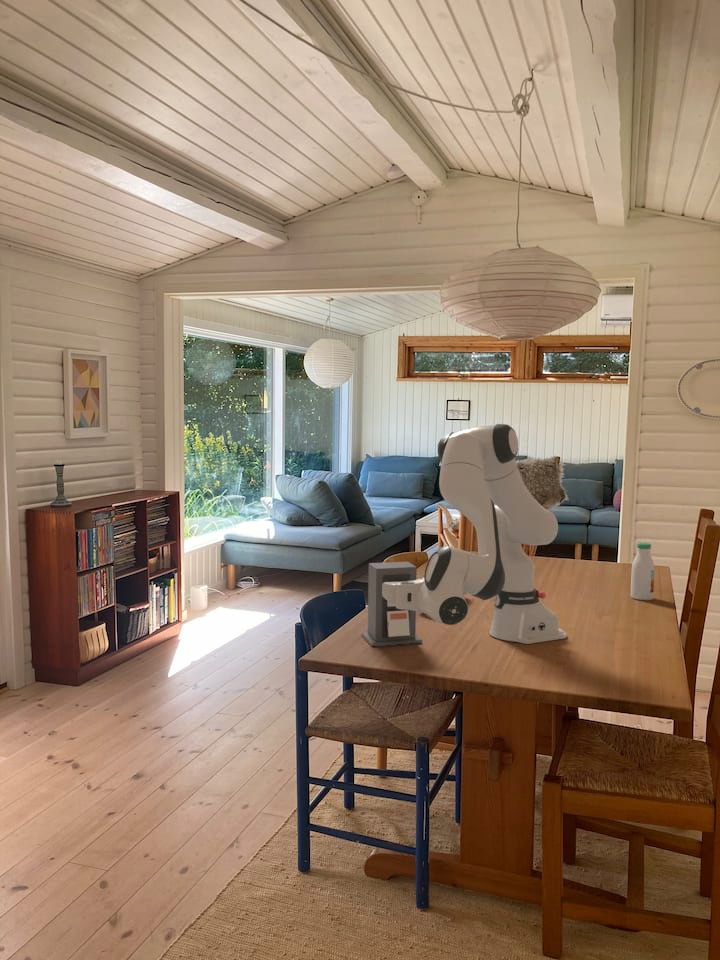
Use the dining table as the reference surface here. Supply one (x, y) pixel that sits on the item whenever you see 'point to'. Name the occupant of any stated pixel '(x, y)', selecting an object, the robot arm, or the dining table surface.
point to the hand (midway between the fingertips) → (412, 583)
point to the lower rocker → (398, 623)
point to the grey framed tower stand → (378, 603)
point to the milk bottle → (642, 574)
